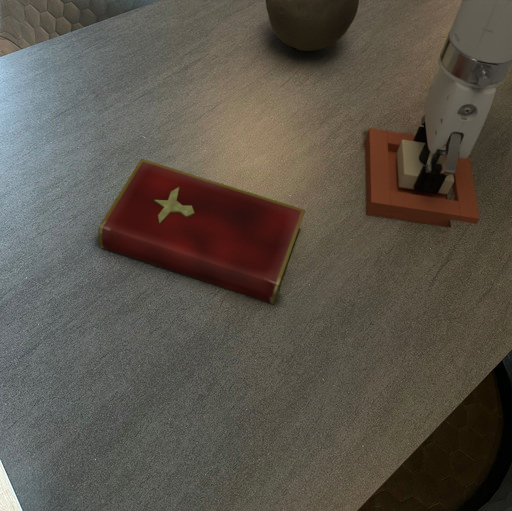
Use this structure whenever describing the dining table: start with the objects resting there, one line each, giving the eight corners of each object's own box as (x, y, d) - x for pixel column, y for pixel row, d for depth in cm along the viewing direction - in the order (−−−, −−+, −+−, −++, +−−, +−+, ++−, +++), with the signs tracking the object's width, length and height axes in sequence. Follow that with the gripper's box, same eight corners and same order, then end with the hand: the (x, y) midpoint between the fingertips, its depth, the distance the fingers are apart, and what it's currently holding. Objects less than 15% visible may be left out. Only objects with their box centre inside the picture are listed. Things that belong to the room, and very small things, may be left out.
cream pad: (443, 159, 86) (455, 135, 82) (447, 194, 82) (460, 170, 78) (396, 152, 86) (406, 127, 82) (398, 187, 82) (409, 162, 78)
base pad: (460, 155, 90) (467, 143, 88) (472, 230, 81) (479, 218, 79) (364, 140, 89) (369, 127, 87) (366, 214, 81) (371, 202, 79)
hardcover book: (272, 307, 71) (278, 286, 67) (100, 250, 72) (97, 227, 69) (299, 230, 78) (305, 208, 75) (141, 180, 80) (141, 156, 76)
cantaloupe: (256, 18, 104) (268, -73, 92) (339, 24, 106) (361, -65, 94) (261, 71, 96) (275, -21, 84) (351, 77, 98) (377, -13, 86)
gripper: (522, 113, 64) (457, 224, 78) (498, 17, 74) (445, 130, 89) (450, 102, 64) (398, 215, 78) (436, 7, 74) (393, 122, 88)
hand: (423, 169), depth 83 cm, fingers closed on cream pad, 6 cm apart
